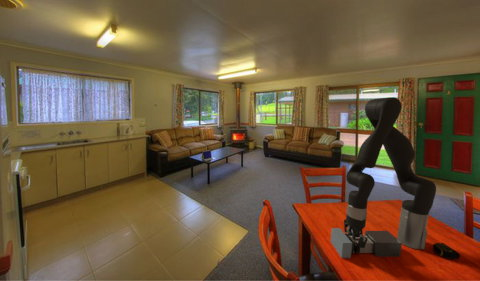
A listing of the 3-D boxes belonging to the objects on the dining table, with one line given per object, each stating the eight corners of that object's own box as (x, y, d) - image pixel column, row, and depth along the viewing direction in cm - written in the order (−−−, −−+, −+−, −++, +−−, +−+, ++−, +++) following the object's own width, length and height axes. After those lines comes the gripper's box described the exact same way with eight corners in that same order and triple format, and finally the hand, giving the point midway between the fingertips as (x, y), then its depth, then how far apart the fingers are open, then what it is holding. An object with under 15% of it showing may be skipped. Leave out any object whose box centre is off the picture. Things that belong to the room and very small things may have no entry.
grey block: (338, 241, 88) (339, 228, 87) (350, 258, 78) (352, 243, 77) (330, 241, 88) (331, 228, 87) (341, 258, 78) (342, 243, 77)
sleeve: (385, 243, 86) (387, 230, 85) (399, 256, 78) (401, 242, 77) (363, 243, 86) (365, 230, 85) (375, 256, 79) (377, 242, 78)
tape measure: (460, 261, 76) (462, 253, 75) (443, 260, 76) (445, 253, 76) (443, 249, 83) (444, 241, 82) (427, 248, 83) (429, 241, 82)
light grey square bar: (374, 244, 85) (376, 233, 84) (384, 253, 80) (385, 242, 79) (339, 244, 86) (339, 233, 85) (345, 253, 80) (346, 242, 79)
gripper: (339, 205, 87) (336, 237, 90) (357, 224, 73) (353, 260, 76) (354, 206, 87) (351, 237, 90) (376, 224, 73) (371, 260, 75)
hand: (352, 247), depth 83 cm, fingers closed on light grey square bar, 5 cm apart
